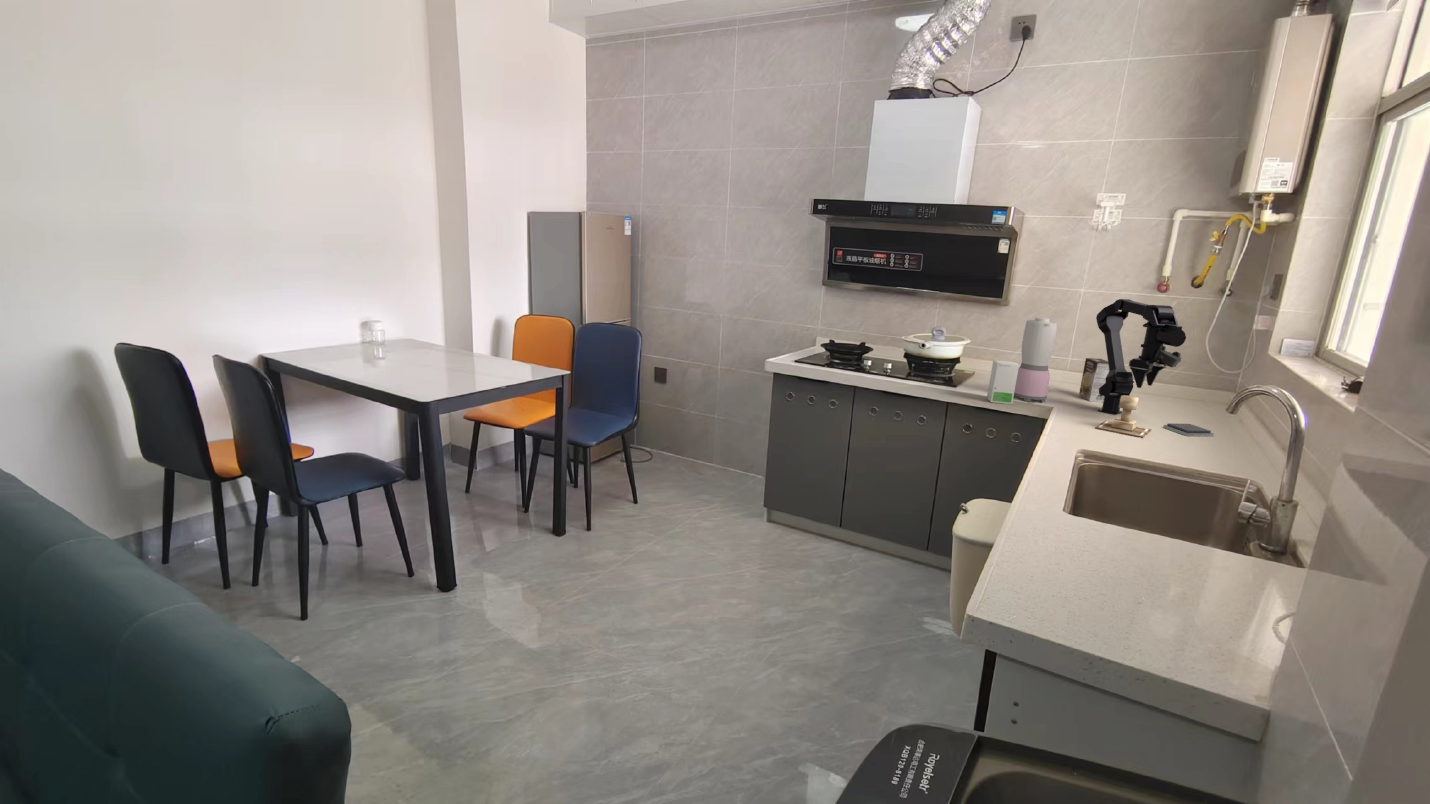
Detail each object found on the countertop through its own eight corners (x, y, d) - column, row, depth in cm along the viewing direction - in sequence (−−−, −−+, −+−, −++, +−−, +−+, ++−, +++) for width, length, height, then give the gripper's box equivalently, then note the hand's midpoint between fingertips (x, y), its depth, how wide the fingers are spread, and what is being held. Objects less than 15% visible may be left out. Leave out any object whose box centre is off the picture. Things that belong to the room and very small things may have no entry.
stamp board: (1143, 438, 216) (1143, 436, 216) (1094, 428, 225) (1095, 427, 225) (1151, 430, 226) (1151, 429, 226) (1104, 421, 235) (1105, 420, 235)
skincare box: (990, 402, 255) (996, 362, 251) (985, 398, 261) (991, 359, 257) (1013, 404, 254) (1019, 364, 250) (1008, 400, 260) (1014, 361, 256)
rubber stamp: (1111, 427, 225) (1117, 396, 223) (1115, 424, 230) (1121, 394, 227) (1131, 431, 221) (1138, 400, 219) (1135, 428, 226) (1141, 397, 223)
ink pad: (1186, 436, 221) (1187, 431, 221) (1163, 427, 231) (1164, 422, 230) (1213, 436, 223) (1214, 431, 222) (1188, 427, 232) (1189, 423, 232)
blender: (1052, 403, 259) (1067, 320, 251) (1021, 402, 258) (1035, 319, 250) (1031, 394, 274) (1045, 315, 266) (1002, 393, 273) (1015, 314, 266)
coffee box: (1077, 396, 275) (1084, 357, 271) (1093, 397, 275) (1100, 358, 271) (1089, 401, 266) (1096, 361, 262) (1105, 402, 266) (1113, 362, 262)
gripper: (1170, 347, 217) (1160, 394, 221) (1190, 344, 229) (1180, 388, 232) (1132, 342, 226) (1123, 387, 229) (1154, 339, 237) (1145, 382, 241)
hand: (1144, 386), depth 233 cm, fingers open, 9 cm apart
